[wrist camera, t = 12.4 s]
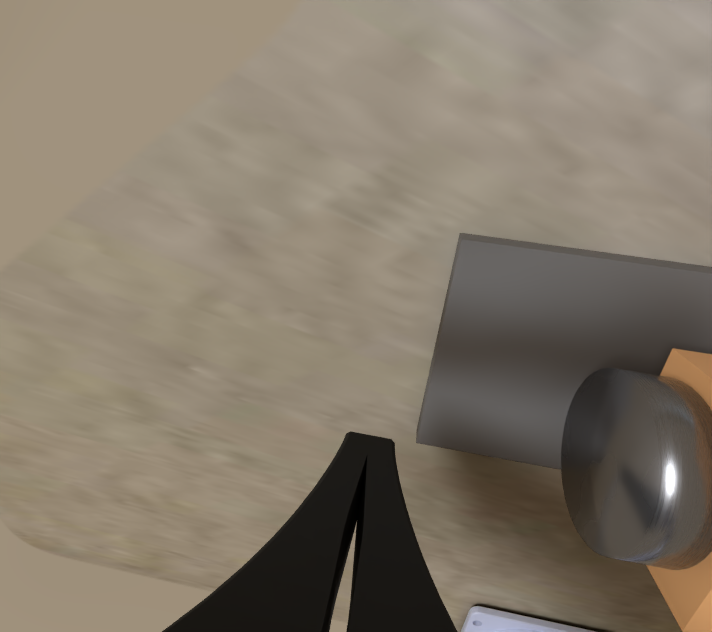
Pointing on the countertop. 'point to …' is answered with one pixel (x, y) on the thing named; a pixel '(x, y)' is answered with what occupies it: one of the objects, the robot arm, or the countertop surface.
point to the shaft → (639, 468)
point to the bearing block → (548, 339)
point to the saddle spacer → (708, 578)
